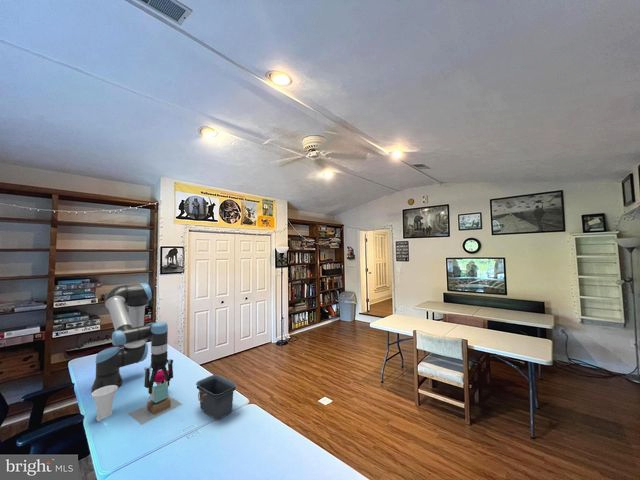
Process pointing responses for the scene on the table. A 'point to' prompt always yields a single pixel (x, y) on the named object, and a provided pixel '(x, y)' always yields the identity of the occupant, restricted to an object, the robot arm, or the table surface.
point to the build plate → (144, 415)
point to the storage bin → (216, 395)
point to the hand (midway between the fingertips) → (159, 396)
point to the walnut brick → (158, 405)
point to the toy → (160, 377)
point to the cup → (104, 401)
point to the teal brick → (160, 392)
